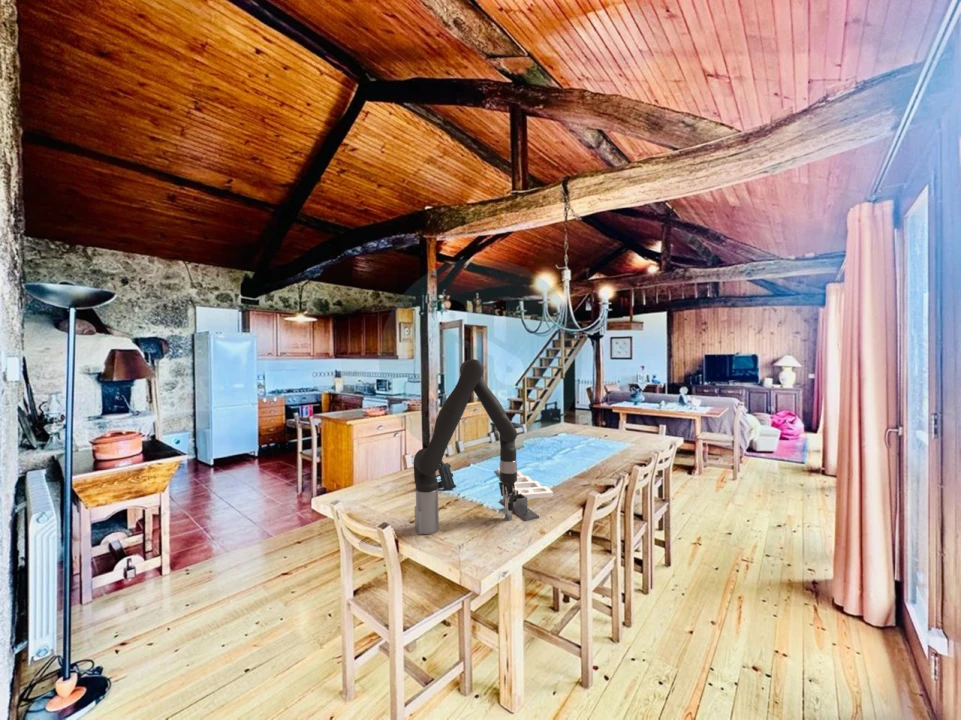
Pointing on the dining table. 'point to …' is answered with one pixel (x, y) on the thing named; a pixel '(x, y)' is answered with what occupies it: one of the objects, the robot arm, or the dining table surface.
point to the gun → (445, 477)
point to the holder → (535, 487)
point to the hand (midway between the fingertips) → (508, 508)
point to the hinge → (522, 508)
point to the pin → (507, 513)
